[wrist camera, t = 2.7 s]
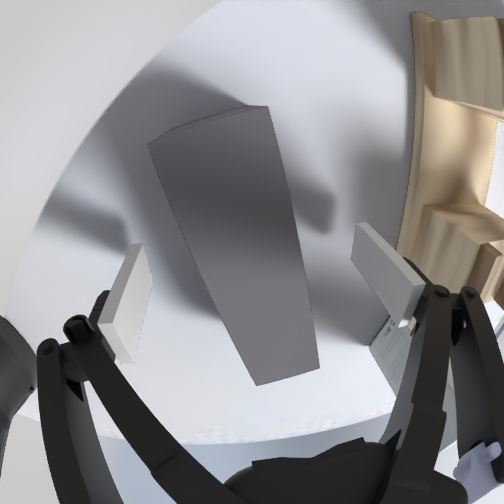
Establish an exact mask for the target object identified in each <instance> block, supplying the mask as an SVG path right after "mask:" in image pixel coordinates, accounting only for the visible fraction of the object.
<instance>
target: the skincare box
mask: <svg viewBox="0 0 504 504" xmlns="http://www.w3.org/2000/svg"><path fill="white" fill-rule="evenodd" d="M415 323H416V319H415V318H414V317H412V320H411V322H410V324H409V325H406V326H403V327H399V328H398V327H397V325H396V324H395V322H394V321H393V319H392V318H391V316H390V318H389V320H388V321H387V323H386V324H385V326H384V327H383V328H382V330H381V331H380V332H379V333H378V335H377V336H376V337H375V339H374V340H373V341H372V343H371V344H370V346H369V350H370V352H371V354H372V355H373V357H374V359H375V360H376V362H377V364H378V366H379V367H380V369H381V371H382V372H383V374H384V376H385V378H386V379H387V381H388V383H389V385H390V386H391V388H392V390H393V392H394V394H395V395H396V397H397V395H398V391H399V388H400V385H401V381H402V377H403V374H404V370H405V366H406V362H407V358H408V354H409V349H410V345H411V340H412V336H410V334H411V332H412V330H413V327H414V325H415ZM412 335H413V334H412ZM443 411H445V412H446V413H447V419H446V424H445V429H444V433H443V438H442V442H441V446H440V449H439V453H438V454H440V453H441V452H443V451H445V450H446V449H447V448H449V447H450V446H452V445H453V444H455V443H456V442H457V420H456V404H455V392H454V383H453V375H452V368H451V361H450V357H449V367H448V376H447V383H446V390H445V396H444V402H443Z"/></svg>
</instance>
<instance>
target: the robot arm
mask: <svg viewBox="0 0 504 504" xmlns="http://www.w3.org/2000/svg"><path fill="white" fill-rule="evenodd" d="M351 261H352V262H353V263H354V265H355V266H356V267H357V269H358V270H359V271H360V273H361V274H362V276H363V277H364V278H365V280H366V281H367V283H368V284H369V285H370V287H371V288H372V290H373V291H374V293H375V294H376V295H377V297H378V298H379V300H380V301H381V303H382V304H383V306H384V307H385V309H386V310H387V312H388V313H389V315H390V316H391V318H392V319H393V321H394V322H395V324H396V325H397V327H398V328H399V327H403V326H406V325H409V324H410V322H411V320H412V317H414V318H415V319H416V323H415V325H414V327H413V330H412V332H411V334H410V336H412V340H411V345H410V349H409V354H408V358H407V362H406V366H405V370H404V374H403V377H402V381H401V385H400V388H399V391H398V395H397V398H396V401H395V404H394V407H393V410H392V413H391V416H390V419H389V422H388V425H387V427H386V430H385V432H384V434H383V435H382V437H381V439H380V440H379V442H378V443H376V442H365V441H364V438H363V437H361V438H358V439H355V440H351V441H348V442H345V443H341V444H338V445H336V446H334V447H332V448H330V449H329V450H327V451H325V452H323V453H321V454H319V455H317V456H315V457H312V458H288V457H287V458H286V457H278V458H272V459H265V460H257V461H252V466H250V467H248V468H245V469H243V470H241V471H239V472H237V473H236V474H234V475H233V476H231V477H230V478H229V479H228V480H227V481H226V482H225V483H224V484H222V483H221V482H220V481H219V480H217V479H216V478H215V477H214V476H213V475H212V474H211V473H210V472H208V471H207V470H206V469H205V468H204V467H203V466H202V465H201V464H200V463H199V462H198V461H197V460H196V459H194V457H192V456H191V455H190V454H189V453H188V452H187V451H186V450H185V449H184V448H183V447H182V446H181V445H180V444H179V443H178V442H177V441H176V440H175V438H174V437H173V436H172V435H171V434H170V433H169V432H168V431H167V430H166V429H165V427H164V426H163V425H162V424H161V423H160V422H159V421H158V419H157V418H156V417H155V416H154V415H153V414H152V412H151V411H150V410H149V409H148V407H147V406H146V405H145V404H144V402H143V401H142V400H141V399H140V397H139V396H138V395H137V393H136V392H135V391H134V390H133V388H132V387H131V385H130V384H129V383H128V381H127V380H126V379H125V377H124V376H123V374H122V373H121V372H120V370H119V369H118V367H117V366H116V364H115V363H114V361H115V357H116V358H117V359H118V361H119V363H120V364H134V363H135V358H136V353H137V348H138V343H139V339H140V334H141V330H142V325H143V321H144V317H145V313H146V309H147V305H148V301H149V297H150V293H151V289H152V286H153V282H154V280H153V276H152V273H151V269H150V266H149V262H148V259H147V255H146V251H145V248H144V244H134V245H131V247H130V249H129V252H128V254H127V256H126V258H125V260H124V262H123V264H122V266H121V268H120V270H119V273H118V275H117V277H116V279H115V282H114V284H113V286H112V288H111V290H106V291H103V292H102V293H101V294H100V295H99V296H98V298H97V300H96V302H95V305H94V307H93V309H92V311H91V314H90V316H89V318H87V317H86V316H85V315H75V316H73V317H71V318H70V319H68V320H67V321H66V323H65V324H64V327H63V332H64V333H65V335H66V337H67V338H68V340H69V341H70V342H67V343H64V344H60V345H59V343H58V342H57V341H56V340H55V339H53V338H49V339H46V340H44V341H43V342H42V343H41V344H40V345H39V347H38V348H37V357H36V355H35V354H34V352H33V351H32V349H31V348H30V346H29V345H28V344H27V343H26V341H25V340H24V339H23V338H22V337H21V335H20V334H19V333H18V332H17V331H16V330H15V329H14V328H13V327H12V326H11V325H10V324H9V323H8V322H7V321H6V320H5V319H4V318H3V317H2V316H1V315H0V476H1V469H2V462H3V456H4V450H5V446H6V441H7V437H8V431H9V428H10V424H11V421H12V418H13V416H14V415H15V414H16V413H17V411H18V410H19V409H20V408H21V406H22V405H23V404H24V403H25V401H26V400H27V399H28V397H29V396H30V394H32V393H33V392H34V391H35V389H36V388H38V401H39V412H40V420H41V427H42V434H43V440H44V445H45V450H46V455H47V460H48V464H49V468H50V472H51V476H52V480H53V483H54V487H55V490H56V493H57V496H58V500H59V502H60V504H124V503H123V501H122V499H121V497H120V495H119V493H118V490H117V488H116V485H115V483H114V481H113V479H112V476H111V473H110V471H109V468H108V466H107V463H106V460H105V458H104V455H103V452H102V449H101V446H100V443H99V440H98V437H97V433H96V430H95V427H94V423H93V420H92V416H91V412H90V408H89V404H88V400H87V396H86V391H85V386H84V382H85V381H90V383H91V384H92V386H93V388H94V390H95V392H96V393H97V395H98V397H99V398H100V400H101V402H102V404H103V405H104V407H105V408H106V410H107V412H108V413H109V415H110V416H111V418H112V419H113V421H114V423H115V424H116V426H117V427H118V428H119V430H120V431H121V433H122V434H123V436H124V437H125V439H126V440H127V441H128V443H129V444H130V445H131V447H132V448H133V449H134V451H135V452H136V453H137V455H138V456H139V457H140V458H141V460H142V461H143V462H144V463H145V465H146V466H147V467H148V468H149V470H150V471H151V475H152V476H153V478H154V479H155V480H156V481H157V483H159V485H160V486H161V487H162V488H163V489H164V490H165V492H166V493H167V494H169V496H170V497H171V498H172V499H173V500H174V501H175V502H176V503H177V504H472V503H473V502H475V501H477V500H478V499H480V498H481V497H483V496H484V495H486V494H487V493H488V492H490V491H491V490H493V489H495V488H497V487H499V486H501V485H503V484H504V363H503V360H502V356H501V352H500V349H499V346H498V343H497V339H496V336H495V333H494V330H493V328H492V325H491V322H490V319H489V317H488V314H487V311H486V309H485V306H484V304H483V301H482V299H481V297H480V294H479V293H478V291H477V290H475V289H474V288H473V287H470V286H464V287H462V288H461V291H460V293H459V294H457V293H450V291H449V290H448V289H447V288H446V287H444V286H442V285H437V284H436V285H433V283H432V282H431V281H430V280H429V279H428V278H427V277H426V276H425V275H424V274H423V273H422V272H421V270H420V269H419V268H417V266H416V265H415V264H414V263H413V262H412V261H411V260H409V259H407V258H406V257H401V256H400V255H399V254H398V253H397V252H396V251H395V250H394V249H393V248H392V247H391V246H390V245H389V244H388V243H387V242H386V241H385V240H384V239H383V238H382V237H381V236H380V235H379V234H378V233H377V232H376V231H375V230H374V229H373V228H372V227H371V226H370V225H369V224H368V223H367V222H359V223H356V227H355V235H354V241H353V248H352V254H351ZM412 334H413V335H412ZM449 357H450V361H451V368H452V375H453V383H454V392H455V404H456V420H457V445H458V455H459V462H458V464H457V467H456V468H455V469H454V471H453V476H454V477H455V478H456V480H454V479H452V478H450V477H448V476H445V475H443V474H441V473H439V472H437V471H435V470H434V467H435V463H436V460H437V457H438V453H439V449H440V446H441V442H442V438H443V433H444V429H445V424H446V419H447V413H446V412H445V411H443V402H444V396H445V390H446V383H447V376H448V367H449Z"/></svg>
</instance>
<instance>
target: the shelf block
mask: <svg viewBox="0 0 504 504" xmlns="http://www.w3.org/2000/svg"><path fill="white" fill-rule="evenodd" d="M410 16H411V24H412V32H413V43H414V57H415V125H414V140H413V151H412V161H411V170H410V177H409V185H408V191H407V198H406V204H405V209H404V215H403V220H402V225H401V230H400V235H399V239H398V244H397V248H396V252H397V253H398V254H399V255H400V256H401V257H406V258H407V259H409V260H411V261H412V262H413V263H414V264H415V265H416V266H417V268H419V269H420V270H421V272H422V273H423V274H424V275H425V276H426V277H427V278H428V279H429V280H430V281H431V282H432V283H433V285H436V284H437V285H442V286H444V287H446V288H447V289H448V290H449V291H450V293H457V294H459V293H460V291H461V288H462V287H464V286H470V287H473V288H474V289H475V290H477V291H478V293H479V294H480V297H481V299H482V301H483V304H485V303H487V302H489V301H491V300H493V299H494V300H495V301H496V302H497V304H498V305H499V306H500V307H501V308H502V309H503V310H504V219H503V218H501V217H500V216H498V215H497V214H495V213H494V212H492V211H491V210H489V209H488V208H486V207H485V202H486V197H487V193H488V188H489V183H490V177H491V172H492V165H493V159H494V151H495V142H496V131H497V120H498V121H501V122H504V19H497V18H496V17H495V16H482V17H465V18H454V19H446V20H436V19H434V18H432V17H430V16H428V15H426V14H423V13H421V12H419V11H418V12H414V13H410Z"/></svg>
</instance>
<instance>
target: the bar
mask: <svg viewBox="0 0 504 504" xmlns="http://www.w3.org/2000/svg"><path fill="white" fill-rule="evenodd" d="M147 146H148V149H149V152H150V154H151V157H152V160H153V162H154V165H155V168H156V170H157V173H158V175H159V178H160V181H161V183H162V186H163V188H164V191H165V193H166V196H167V198H168V201H169V203H170V206H171V208H172V210H173V213H174V215H175V218H176V220H177V222H178V225H179V227H180V230H181V232H182V234H183V237H184V239H185V241H186V244H187V246H188V248H189V250H190V253H191V255H192V257H193V259H194V262H195V264H196V266H197V268H198V270H199V273H200V275H201V277H202V279H203V281H204V284H205V286H206V288H207V290H208V292H209V294H210V296H211V298H212V300H213V303H214V305H215V307H216V309H217V311H218V313H219V315H220V317H221V319H222V321H223V323H224V325H225V327H226V329H227V331H228V333H229V335H230V337H231V339H232V341H233V343H234V345H235V347H236V349H237V351H238V353H239V355H240V357H241V359H242V360H243V362H244V364H245V366H246V368H247V370H248V372H249V374H250V376H251V377H252V379H253V381H254V383H255V385H256V386H259V385H263V384H267V383H271V382H275V381H279V380H282V379H286V378H289V377H293V376H296V375H300V374H303V373H306V372H309V371H313V370H316V369H319V368H320V365H319V358H318V351H317V344H316V337H315V330H314V323H313V317H312V311H311V305H310V299H309V293H308V287H307V281H306V275H305V270H304V264H303V259H302V254H301V249H300V243H299V238H298V233H297V228H296V223H295V218H294V214H293V209H292V204H291V200H290V195H289V190H288V186H287V182H286V177H285V173H284V168H283V164H282V160H281V156H280V152H279V148H278V143H277V139H276V135H275V131H274V128H273V124H272V120H271V116H270V112H269V108H268V106H249V105H248V106H244V107H240V108H237V109H233V110H229V111H226V112H222V113H219V114H216V115H212V116H209V117H206V118H203V119H200V120H197V121H194V122H191V123H188V124H185V125H182V126H179V127H177V128H174V129H171V130H169V131H168V132H166V133H164V134H163V135H161V136H160V137H158V138H157V139H155V140H153V141H152V142H150V143H149V144H147Z"/></svg>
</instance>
